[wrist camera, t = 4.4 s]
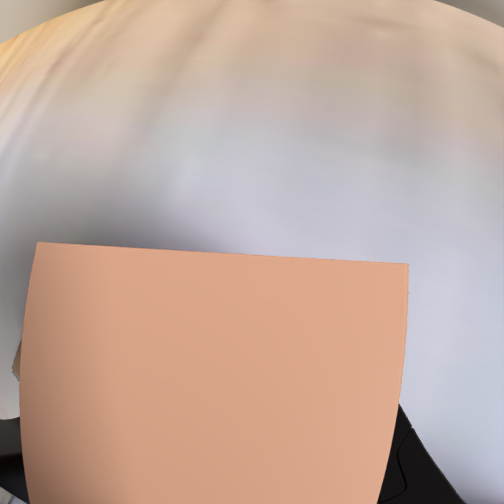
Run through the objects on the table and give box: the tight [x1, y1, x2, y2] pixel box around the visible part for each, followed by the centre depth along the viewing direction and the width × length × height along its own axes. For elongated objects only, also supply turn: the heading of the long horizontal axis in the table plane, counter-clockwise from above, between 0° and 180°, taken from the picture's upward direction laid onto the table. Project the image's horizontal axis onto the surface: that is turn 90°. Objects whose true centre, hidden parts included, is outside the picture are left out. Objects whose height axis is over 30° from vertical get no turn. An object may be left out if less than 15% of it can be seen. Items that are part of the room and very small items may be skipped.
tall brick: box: [20, 242, 408, 504], centre depth 10 cm, size 5×5×14 cm
